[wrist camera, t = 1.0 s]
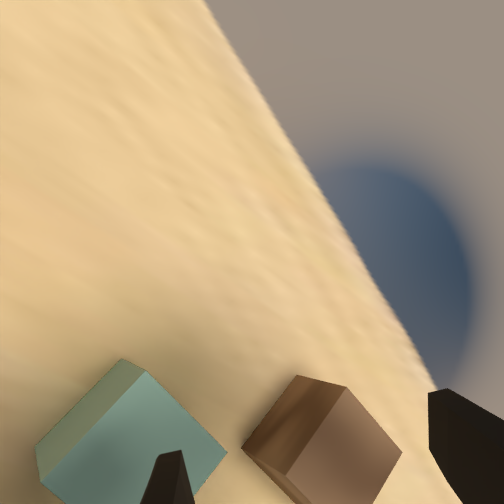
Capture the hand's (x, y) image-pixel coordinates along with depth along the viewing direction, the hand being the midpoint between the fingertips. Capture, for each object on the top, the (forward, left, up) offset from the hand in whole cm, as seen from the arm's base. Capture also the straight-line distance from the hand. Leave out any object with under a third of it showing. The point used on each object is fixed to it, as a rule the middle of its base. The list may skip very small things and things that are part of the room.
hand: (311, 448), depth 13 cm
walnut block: (+2, -7, -11) cm, 14 cm away
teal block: (-4, +1, -11) cm, 12 cm away
